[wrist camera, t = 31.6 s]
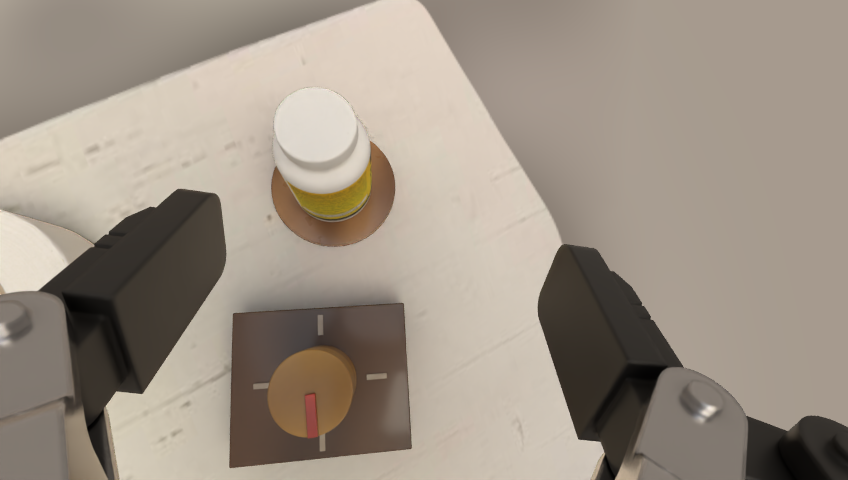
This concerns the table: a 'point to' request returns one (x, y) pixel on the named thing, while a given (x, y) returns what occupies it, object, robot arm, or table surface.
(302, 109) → the pill bottle
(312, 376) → the knob
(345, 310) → the panel
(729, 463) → the robot arm
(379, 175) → the coaster
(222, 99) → the table surface
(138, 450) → the table surface
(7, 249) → the tape roll
